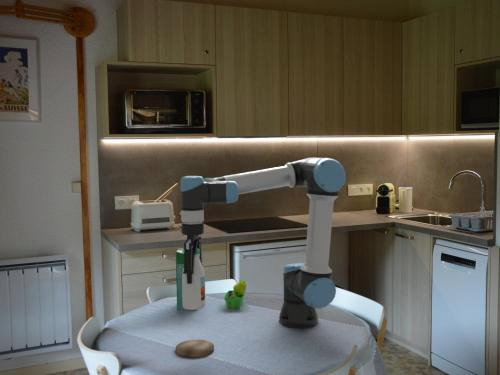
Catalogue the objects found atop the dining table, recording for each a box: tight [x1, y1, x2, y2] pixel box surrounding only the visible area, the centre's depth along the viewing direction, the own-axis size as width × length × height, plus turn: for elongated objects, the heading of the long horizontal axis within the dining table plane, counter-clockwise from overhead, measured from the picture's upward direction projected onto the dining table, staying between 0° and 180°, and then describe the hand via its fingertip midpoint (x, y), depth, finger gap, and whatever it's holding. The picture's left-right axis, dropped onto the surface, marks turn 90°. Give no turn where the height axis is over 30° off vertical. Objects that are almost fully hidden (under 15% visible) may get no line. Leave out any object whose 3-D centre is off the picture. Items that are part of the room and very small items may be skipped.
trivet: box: [175, 339, 215, 359], centre depth 185 cm, size 13×13×1 cm
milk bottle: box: [182, 248, 206, 311], centre depth 183 cm, size 8×8×20 cm
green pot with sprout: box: [223, 279, 247, 310], centre depth 233 cm, size 11×9×11 cm
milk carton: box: [175, 247, 188, 311], centre depth 232 cm, size 9×9×25 cm
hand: (193, 289), depth 183 cm, fingers closed on milk bottle, 7 cm apart
